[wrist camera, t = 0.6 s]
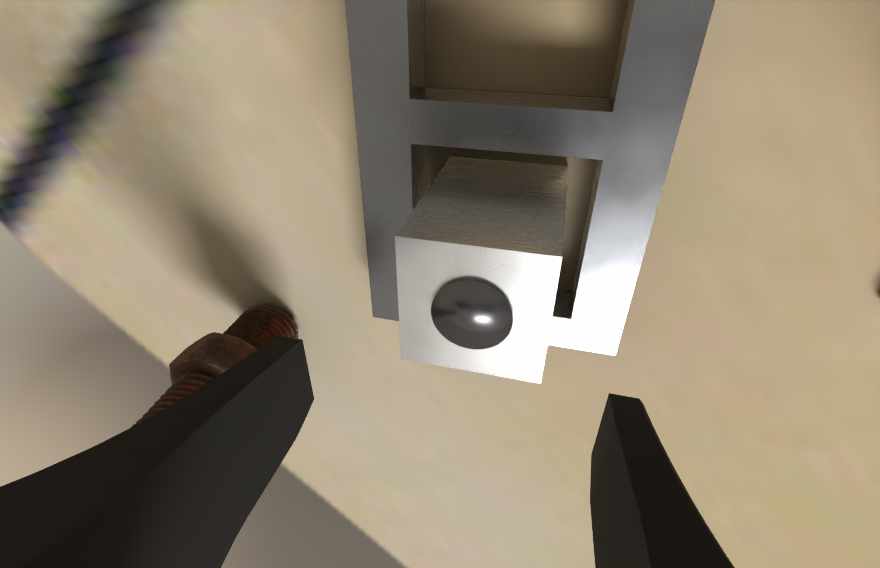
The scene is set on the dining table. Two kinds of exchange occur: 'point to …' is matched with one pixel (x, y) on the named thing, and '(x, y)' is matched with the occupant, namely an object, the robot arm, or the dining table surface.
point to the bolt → (222, 352)
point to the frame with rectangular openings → (528, 146)
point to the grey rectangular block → (482, 267)
